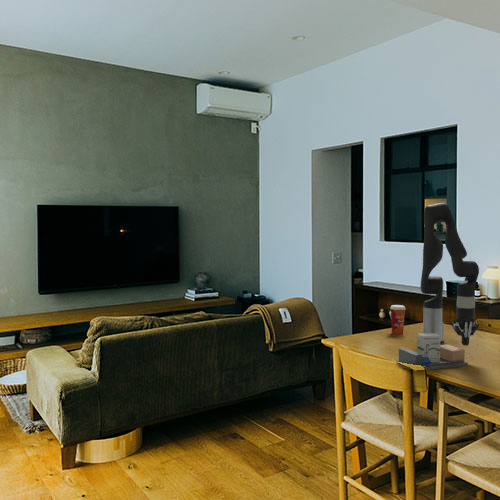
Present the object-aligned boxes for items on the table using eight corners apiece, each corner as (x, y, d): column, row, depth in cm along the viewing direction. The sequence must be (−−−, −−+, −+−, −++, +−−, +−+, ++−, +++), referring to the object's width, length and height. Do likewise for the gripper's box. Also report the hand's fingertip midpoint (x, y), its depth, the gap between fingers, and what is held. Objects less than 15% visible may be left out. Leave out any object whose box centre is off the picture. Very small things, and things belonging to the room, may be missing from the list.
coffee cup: (397, 335, 280) (397, 307, 279) (386, 332, 287) (386, 305, 286) (408, 333, 284) (409, 306, 283) (398, 330, 291) (398, 304, 290)
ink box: (421, 363, 219) (421, 335, 218) (416, 360, 224) (416, 333, 223) (440, 362, 220) (440, 335, 220) (435, 359, 225) (435, 332, 224)
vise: (445, 357, 233) (445, 343, 233) (467, 365, 220) (468, 350, 219) (396, 362, 225) (396, 348, 225) (416, 371, 212) (416, 355, 211)
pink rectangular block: (447, 354, 231) (447, 344, 231) (464, 361, 221) (464, 350, 221) (435, 356, 229) (436, 345, 229) (452, 362, 219) (452, 351, 219)
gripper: (472, 304, 232) (471, 342, 233) (447, 305, 228) (447, 344, 229) (484, 306, 225) (483, 346, 226) (459, 308, 221) (458, 348, 222)
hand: (465, 345), depth 227 cm, fingers closed
